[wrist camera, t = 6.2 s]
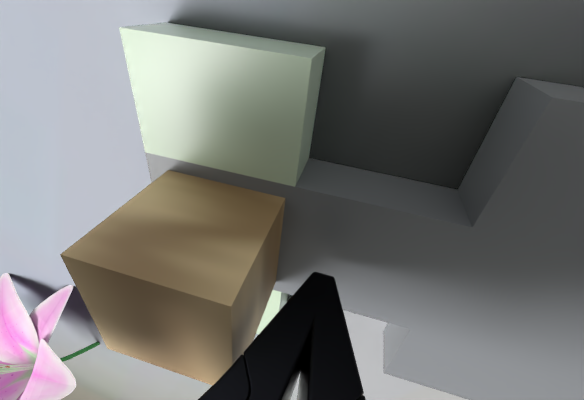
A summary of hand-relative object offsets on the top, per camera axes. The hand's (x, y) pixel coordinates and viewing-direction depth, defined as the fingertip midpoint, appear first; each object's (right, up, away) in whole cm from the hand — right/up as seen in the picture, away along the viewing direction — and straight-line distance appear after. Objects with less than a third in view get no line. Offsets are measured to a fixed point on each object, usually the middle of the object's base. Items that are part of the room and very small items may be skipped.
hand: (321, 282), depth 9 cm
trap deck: (+3, +1, +2) cm, 4 cm away
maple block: (-3, +1, +1) cm, 4 cm away
